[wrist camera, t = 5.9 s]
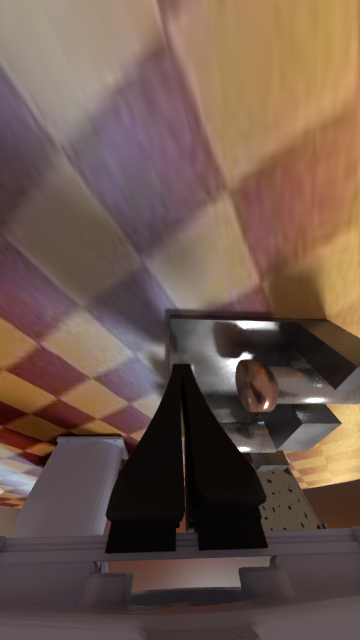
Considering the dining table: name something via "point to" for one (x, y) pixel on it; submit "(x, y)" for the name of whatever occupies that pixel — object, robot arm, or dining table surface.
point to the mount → (275, 350)
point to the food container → (284, 503)
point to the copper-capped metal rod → (284, 387)
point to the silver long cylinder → (249, 437)
